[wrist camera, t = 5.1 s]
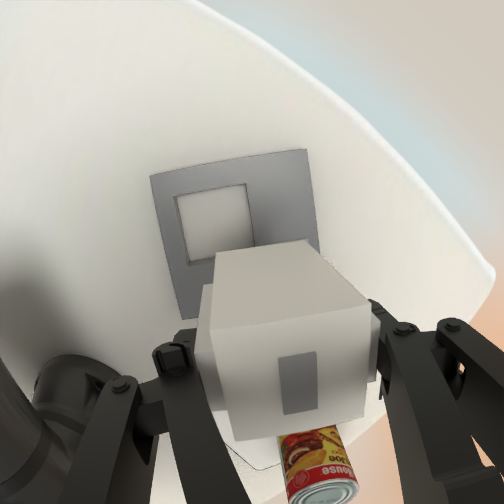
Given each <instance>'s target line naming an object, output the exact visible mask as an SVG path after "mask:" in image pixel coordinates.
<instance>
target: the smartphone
mask: <svg viewBox="0 0 504 504" xmlns="http://www.w3.org/2000/svg"><path fill="white" fill-rule="evenodd" d="M212 414H213V417H214V419H215V422H216V424H217V427H218V429H219V432H220V434H221V436H222V439H223V441H224V443H225V444H226V445H227V446H228V447H229V448H230V449H232V450H233V451H234V452H235V453H236V454H237V455H239V456H240V457H241V458H242V459H243V460H244V461H246V462H247V463H248V464H249V465H250V466H252V467H253V468H254V469H256V470H264V469H267V468H270V467H272V466H275V465H277V464H280V463H281V460H280V454H279V449H278V443H277V438H276V436H275V437H269V438H262V439H255V440H248V441H239V442H235V439H234V436H233V432H232V428H231V424H230V420H229V416H228V411H227V410H223V411H214V412H212Z"/></svg>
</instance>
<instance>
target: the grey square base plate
mask: <svg viewBox="0 0 504 504" xmlns="http://www.w3.org/2000/svg"><path fill="white" fill-rule="evenodd" d="M150 181H151V187H152V192H153V197H154V202H155V207H156V212H157V217H158V222H159V226H160V231H161V236H162V240H163V245H164V249H165V253H166V258H167V262H168V266H169V270H170V274H171V278H172V282H173V286H174V290H175V294H176V298H177V302H178V306H179V309H180V313H181V317H182V320H185V319H192V318H199V312H200V305H201V298H202V291H203V285H206V284H213V280H214V268H215V257H214V258H208V259H203V260H197V261H191V262H189V258H188V253H187V248H186V244H185V239H184V234H183V229H182V225H181V220H180V215H179V210H178V205H177V199H176V196H179V195H184V194H189V193H194V192H199V191H204V190H210V189H215V188H221V187H227V186H232V185H238V184H244V183H245V184H246V190H247V196H248V202H249V208H250V214H251V221H252V227H253V233H254V239H255V245H256V247H258V246H265V245H272V244H280V243H287V242H294V241H301V240H305V241H306V242H307V243H308V244H309V245H310V246H312V247H313V248H314V249H315V250H316V251H317V252H318V253H319V254H320V249H319V240H318V231H317V222H316V214H315V206H314V198H313V190H312V183H311V176H310V169H309V162H308V155H307V149H301V150H293V151H285V152H278V153H270V154H264V155H257V156H250V157H244V158H238V159H232V160H226V161H220V162H215V163H209V164H204V165H199V166H194V167H188V168H183V169H179V170H174V171H169V172H164V173H160V174H155V175H151V176H150Z"/></svg>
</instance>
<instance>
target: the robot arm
mask: <svg viewBox="0 0 504 504" xmlns="http://www.w3.org/2000/svg"><path fill="white" fill-rule="evenodd" d="M212 291H213V284H206V285H203V291H202V298H201V305H200V312H199V319H198V326H197V328H193V329H184V330H180V331H179V332H178V333H177V334H176V335H175V336H174V340H173V342H168V343H165V344H162V345H160V346H158V347H157V348H156V349H155V350H154V351H153V353H152V357H153V360H154V363H155V366H156V370H157V373H158V376H159V377H158V378H156V379H154V380H151V381H148V382H145V383H141V384H138V381H137V380H136V379H135V378H134V377H132V376H120V375H119V374H118V373H116V372H115V371H113V370H112V369H110V368H109V367H107V366H105V365H104V364H102V363H100V362H97V361H95V360H92V359H90V358H86V357H83V356H77V355H62V356H58V357H55V358H53V359H51V360H50V361H49V362H48V363H47V364H46V365H45V366H44V368H43V369H42V370H41V372H40V373H39V374H38V377H37V379H36V382H35V387H34V396H33V399H32V402H31V403H30V402H29V400H28V399H27V397H26V396H25V395H24V393H23V392H22V390H21V389H20V387H19V386H18V384H17V383H16V381H15V380H14V378H13V377H12V375H11V374H10V372H9V371H8V369H7V367H6V366H5V364H4V363H3V361H2V359H1V358H0V504H149V502H150V495H151V487H152V480H153V473H154V466H155V460H156V453H157V447H158V441H159V434H162V433H166V432H169V434H170V439H171V443H172V448H173V452H174V456H175V460H176V464H177V469H178V472H179V476H180V480H181V484H182V488H183V491H184V495H185V499H186V502H187V504H252V503H251V501H250V499H249V497H248V495H247V493H246V491H245V489H244V487H243V484H242V482H241V480H240V478H239V476H238V473H237V471H236V469H235V467H234V464H233V462H232V460H231V458H230V455H229V453H228V451H227V448H226V446H225V444H224V441H223V439H222V436H221V434H220V432H219V429H218V427H217V424H216V422H215V419H214V417H213V414H212V412H214V411H223V410H227V407H226V403H225V399H224V395H223V390H222V386H221V382H220V377H219V373H218V368H217V364H216V359H215V355H214V350H213V345H212V341H211V336H210V331H209V330H210V317H211V304H212ZM367 300H368V301H369V302H370V303H371V333H370V351H369V366H368V378H367V383H370V382H373V381H376V374H377V370H378V371H379V372H380V374H381V375H382V377H381V385H380V393H379V400H382V395H383V397H384V402H385V406H386V410H387V415H388V419H389V424H390V429H391V433H392V438H393V443H394V448H395V453H396V458H397V464H398V470H399V475H400V481H401V487H402V494H403V500H404V504H504V482H503V479H502V476H503V477H504V352H503V351H502V350H500V349H499V348H498V347H497V346H495V345H494V344H493V343H492V342H490V341H489V340H487V339H486V338H485V337H484V336H483V335H481V334H480V333H479V332H477V331H476V330H475V329H473V328H472V327H471V326H470V325H468V324H467V323H466V322H464V321H462V320H460V319H456V318H445V319H442V320H440V321H439V322H438V323H437V329H436V331H427V332H420V330H419V329H418V328H417V326H416V325H414V324H411V323H407V322H398V321H397V320H396V319H395V318H394V317H393V316H392V315H391V314H390V313H389V312H387V310H386V309H385V308H383V307H382V306H381V305H380V304H379V303H378V302H376V301H373V300H371V299H367ZM460 363H462V364H463V366H464V367H465V369H464V372H462V371H460V369H459V368H460ZM471 436H472V437H473V438H474V439H475V441H476V442H477V443H478V444H479V446H480V447H481V448H482V450H483V451H484V452H485V453H486V455H487V456H488V457H489V459H490V460H491V461H492V463H493V464H494V465H495V467H494V466H489V467H485V466H484V465H483V463H482V462H481V459H480V456H479V454H478V451H477V449H476V446H475V444H474V442H473V439H472V437H471ZM500 473H501V474H500ZM501 475H502V476H501Z"/></svg>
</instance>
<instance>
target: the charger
mask: <svg viewBox="0 0 504 504" xmlns="http://www.w3.org/2000/svg"><path fill="white" fill-rule="evenodd" d="M209 331H210V336H211V341H212V345H213V350H214V355H215V359H216V364H217V368H218V373H219V377H220V382H221V386H222V390H223V395H224V399H225V403H226V407H227V411H228V416H229V420H230V424H231V428H232V432H233V436H234V439H235V442H239V441H248V440H255V439H262V438H269V437H275V436H281V435H287V434H292V433H298V432H303V431H308V430H313V429H317V428H322V427H326V426H330V425H335V424H339V423H343V422H347V421H351V420H354V419H358V418H362V417H364V409H365V399H366V389H367V378H368V366H369V351H370V333H371V303H370V302H369V301H368V300H367V299H366V298H365V297H364V296H363V295H362V294H361V293H360V292H359V291H358V290H357V289H356V288H355V287H354V286H353V285H352V284H351V283H350V282H349V281H348V280H347V279H346V278H344V277H343V276H342V275H341V274H340V273H339V272H338V271H337V270H336V269H335V268H334V267H333V266H332V265H331V264H330V263H329V262H328V261H327V260H325V259H324V258H323V257H322V256H321V255H320V254H319V253H318V252H317V251H316V250H315V249H314V248H313V247H312V246H310V245H309V244H308V243H307V242H306V241H305V240H301V241H294V242H287V243H280V244H272V245H265V246H258V247H251V248H244V249H237V250H230V251H223V252H216V257H215V268H214V280H213V291H212V304H211V317H210V330H209Z"/></svg>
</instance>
